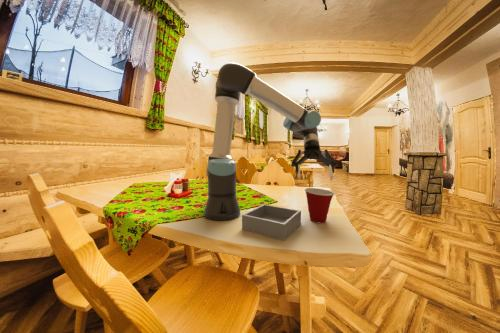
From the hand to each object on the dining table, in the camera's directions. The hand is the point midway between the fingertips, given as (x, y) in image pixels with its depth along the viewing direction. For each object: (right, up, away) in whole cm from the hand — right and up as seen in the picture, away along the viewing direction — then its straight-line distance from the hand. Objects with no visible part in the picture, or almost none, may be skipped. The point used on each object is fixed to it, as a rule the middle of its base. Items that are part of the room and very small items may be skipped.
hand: (315, 177), depth 82 cm
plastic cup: (-2, -16, -9) cm, 19 cm away
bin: (-21, -16, -15) cm, 31 cm away
